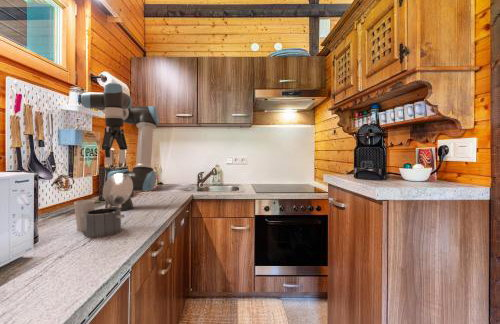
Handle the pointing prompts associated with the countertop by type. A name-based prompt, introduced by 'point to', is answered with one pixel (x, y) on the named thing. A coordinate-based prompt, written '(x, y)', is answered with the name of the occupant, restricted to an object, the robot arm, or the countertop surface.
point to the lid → (117, 189)
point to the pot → (102, 222)
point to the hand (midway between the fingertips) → (116, 164)
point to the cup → (82, 211)
